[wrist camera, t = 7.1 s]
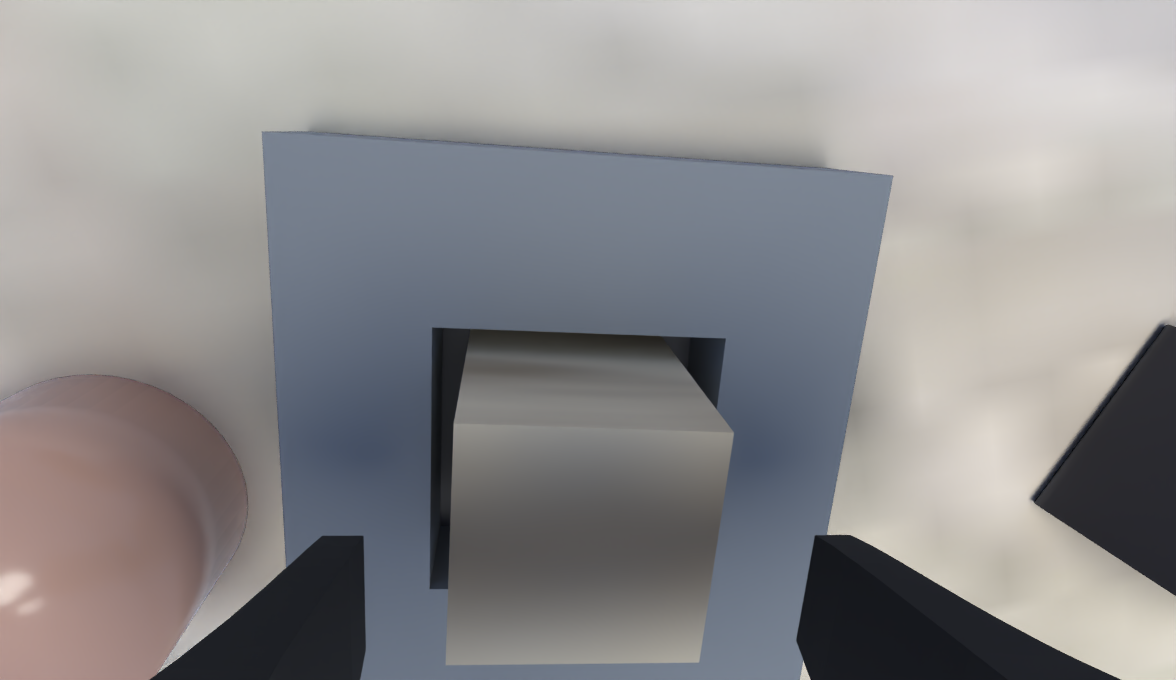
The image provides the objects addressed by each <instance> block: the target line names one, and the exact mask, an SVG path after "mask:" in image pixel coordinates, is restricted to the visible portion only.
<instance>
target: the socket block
mask: <svg viewBox="0 0 1176 680" xmlns="http://www.w3.org/2000/svg"><path fill="white" fill-rule="evenodd" d="M262 141H263V159H264V177H265V195H266V213H267V231H268V249H269V267H270V285H271V303H272V321H273V339H274V357H275V375H276V393H277V411H278V429H279V447H280V465H281V483H282V501H283V518H284V536H285V554H286V568H287V567H288V566H289V565H290V564H291V563H292V562H293V561H294V560H295V559H296V558H297V557H299V556H300V555H301V554H302V553H303V552H304V551H305V550H306V549H307V548H309V547H310V546H311V545H312V544H313V543H314V542H315V541H317V540H318V539H319V538H320V537H321V536H364V579H365V630H366V652H365V657H364V662H363V668H362V673H361V678H360V680H800V675H801V670H802V665H803V658H802V655H801V652H800V650H799V647H798V644H797V642H796V638H797V632H798V627H799V621H800V616H801V610H802V604H803V599H804V593H805V588H806V582H807V576H808V571H809V565H810V560H811V554H812V548H813V543H814V537H815V535H827V530H828V524H829V519H830V514H831V508H832V503H833V497H834V492H835V487H836V481H837V476H838V470H839V465H840V460H841V454H842V449H843V444H844V438H845V433H846V427H847V422H848V417H849V411H850V406H851V400H852V395H853V390H854V384H855V379H856V373H857V368H858V363H859V357H860V352H861V346H862V341H863V336H864V330H865V325H866V320H867V314H868V309H869V303H870V298H871V293H872V287H873V282H874V276H875V271H876V266H877V260H878V255H879V249H880V244H881V239H882V233H883V228H884V222H885V217H886V212H887V206H888V201H889V195H890V190H891V185H892V179H893V176H891V175H882V174H873V173H865V172H856V171H847V170H838V169H830V168H817V167H803V166H788V165H774V164H760V163H746V162H732V161H717V160H703V159H689V158H675V157H661V156H647V155H632V154H618V153H604V152H590V151H576V150H561V149H547V148H533V147H519V146H505V145H491V144H476V143H462V142H448V141H434V140H420V139H405V138H391V137H377V136H363V135H349V134H335V133H320V132H262ZM471 329H487V330H513V331H540V332H567V333H593V334H620V335H646V336H661V337H662V338H663V339H664V341H665V342H666V343H667V345H668V346H669V347H670V349H671V350H672V351H673V353H674V354H675V355H676V357H677V358H678V359H679V361H680V362H681V363H682V364H683V366H684V367H685V368H686V370H687V371H688V372H689V374H690V375H691V376H692V378H693V379H694V380H695V382H696V383H697V384H698V386H699V387H700V388H701V390H702V391H703V392H704V394H705V395H706V396H707V398H708V399H709V400H710V402H711V403H712V404H713V405H714V407H715V408H716V409H717V411H718V412H719V413H720V415H721V416H722V417H723V419H724V420H725V421H726V423H727V424H728V425H729V427H730V428H731V429H732V431H733V432H734V437H733V443H732V450H731V456H730V463H729V470H728V476H727V483H726V489H725V496H724V502H723V509H722V516H721V522H720V529H719V535H718V542H717V548H716V555H715V562H714V568H713V575H712V581H711V588H710V594H709V601H708V608H707V614H706V621H705V627H704V634H703V640H702V647H701V653H700V660H699V663H617V664H523V665H446V638H447V608H448V578H449V549H450V519H451V489H452V459H453V429H454V419H455V413H456V408H457V402H458V397H459V391H460V386H461V380H462V375H463V369H464V363H465V358H466V352H467V347H468V341H469V336H470V330H471Z"/></svg>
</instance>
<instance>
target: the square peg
mask: <svg viewBox="0 0 1176 680" xmlns="http://www.w3.org/2000/svg"><path fill="white" fill-rule="evenodd" d="M733 437H734V432H733V431H732V429H731V428H730V427H729V425H728V424H727V423H726V421H725V420H724V419H723V417H722V416H721V415H720V413H719V412H718V411H717V409H716V408H715V407H714V405H713V404H712V403H711V402H710V400H709V399H708V398H707V396H706V395H705V394H704V392H703V391H702V390H701V388H700V387H699V386H698V384H697V383H696V382H695V380H694V379H693V378H692V376H691V375H690V374H689V372H688V371H687V370H686V368H685V367H684V366H683V364H682V363H681V362H680V361H679V359H678V358H677V357H676V355H675V354H674V353H673V351H672V350H671V349H670V347H669V346H668V345H667V343H666V342H665V341H664V339H663V338H662V337H661V336H646V335H620V334H593V333H567V332H540V331H513V330H487V329H471V330H470V336H469V341H468V347H467V352H466V358H465V363H464V369H463V375H462V380H461V386H460V391H459V397H458V402H457V408H456V413H455V419H454V429H453V459H452V489H451V519H450V549H449V578H448V608H447V638H446V665H523V664H617V663H699V660H700V653H701V647H702V640H703V634H704V627H705V621H706V614H707V608H708V601H709V594H710V588H711V581H712V575H713V568H714V562H715V555H716V548H717V542H718V535H719V529H720V522H721V516H722V509H723V502H724V496H725V489H726V483H727V476H728V470H729V463H730V456H731V450H732V443H733Z"/></svg>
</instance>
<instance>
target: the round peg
mask: <svg viewBox="0 0 1176 680" xmlns="http://www.w3.org/2000/svg"><path fill="white" fill-rule="evenodd" d="M247 514H248V497H247V491H246V484H245V480H244V477H243V474H242V471H241V468H240V466H239V463H238V461H237V459H236V457H235V455H234V453H233V451H232V450H231V448H230V447H229V445H228V444H227V442H226V441H225V439H224V438H223V437H222V436H221V434H220V433H219V432H218V431H217V430H216V428H215V427H214V426H213V425H212V424H211V423H210V422H209V421H208V420H206V419H205V418H204V417H203V416H202V415H201V414H200V413H199V412H197V411H196V410H195V409H193V408H192V407H190V406H189V405H188V404H186V403H185V402H183V401H181V400H180V399H178V398H176V397H174V396H173V395H171V394H169V393H167V392H165V391H162V390H160V389H158V388H156V387H153V386H151V385H148V384H144V383H141V382H138V381H135V380H131V379H126V378H121V377H115V376H106V375H73V376H66V377H60V378H55V379H51V380H48V381H44V382H40V383H37V384H35V385H33V386H31V387H28V388H26V389H24V390H21V391H20V392H18V393H16V394H14V395H12V396H10V397H8V398H6V399H5V400H3V401H1V402H0V680H149V679H151V678H152V677H154V676H155V675H156V674H157V673H158V671H159V670H160V668H161V667H162V665H163V664H164V662H165V660H166V659H167V657H168V656H169V654H170V653H171V651H172V650H173V648H174V646H175V645H176V643H177V642H178V640H179V639H180V637H181V636H182V634H183V633H184V631H185V629H186V628H187V626H188V625H189V623H190V622H191V620H192V619H193V617H194V616H195V614H196V612H197V611H198V609H199V608H200V606H201V605H202V603H203V602H204V600H205V599H206V597H207V595H208V594H209V592H210V591H211V589H212V588H213V586H214V585H215V583H216V582H217V580H218V578H219V577H220V575H221V574H222V572H223V571H224V569H225V568H226V566H227V564H228V563H229V561H230V560H231V558H232V557H233V555H234V554H235V552H236V550H237V548H238V546H239V544H240V542H241V539H242V536H243V533H244V530H245V526H246V520H247Z"/></svg>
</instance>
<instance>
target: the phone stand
mask: <svg viewBox="0 0 1176 680" xmlns="http://www.w3.org/2000/svg"><path fill="white" fill-rule="evenodd" d="M1034 503H1035V504H1036V505H1038V506H1039V507H1041V508H1042V509H1044V510H1045V511H1047V512H1048V513H1050V514H1051V515H1053V516H1054V517H1056V518H1057V519H1059V520H1061V521H1062V522H1064V523H1065V524H1067V525H1068V526H1070V527H1071V528H1073V529H1074V530H1076V531H1077V532H1079V533H1080V534H1082V535H1083V536H1085V537H1086V538H1088V539H1090V540H1091V541H1093V542H1094V543H1096V544H1097V545H1099V546H1100V547H1102V548H1103V549H1105V550H1106V551H1108V552H1109V553H1111V554H1112V555H1114V556H1115V557H1117V558H1119V559H1120V560H1122V561H1123V562H1125V563H1126V564H1128V565H1129V566H1131V567H1132V568H1134V569H1135V570H1137V571H1138V572H1140V573H1141V574H1143V575H1145V576H1146V577H1148V578H1149V579H1151V580H1152V581H1154V582H1155V583H1157V584H1158V585H1160V586H1161V587H1163V588H1164V589H1166V590H1167V591H1169V592H1170V593H1172V594H1174V595H1175V596H1176V327H1174V326H1170V325H1166V326H1165V327H1164V329H1163V330H1162V331H1161V333H1160V334H1159V335H1158V337H1157V338H1156V339H1155V341H1154V342H1153V343H1152V345H1151V346H1150V347H1149V349H1148V350H1147V351H1146V353H1145V354H1144V356H1143V357H1142V358H1141V360H1140V361H1139V362H1138V364H1137V365H1136V366H1135V368H1134V369H1133V370H1132V372H1131V373H1130V374H1129V376H1128V377H1127V378H1126V380H1125V381H1124V382H1123V384H1122V385H1121V387H1120V388H1119V389H1118V391H1117V392H1116V393H1115V395H1114V396H1113V397H1112V399H1111V400H1110V401H1109V403H1108V404H1107V405H1106V407H1105V408H1104V409H1103V411H1102V412H1101V413H1100V415H1099V416H1098V418H1097V419H1096V420H1095V422H1094V423H1093V424H1092V426H1091V427H1090V428H1089V430H1088V431H1087V432H1086V434H1085V435H1084V436H1083V438H1082V439H1081V440H1080V442H1079V443H1078V444H1077V446H1076V447H1075V448H1074V450H1073V451H1072V453H1071V454H1070V455H1069V457H1068V458H1067V459H1066V461H1065V462H1064V463H1063V465H1062V466H1061V467H1060V469H1059V470H1058V471H1057V473H1056V474H1055V475H1054V477H1053V478H1052V479H1051V481H1050V482H1049V484H1048V485H1047V486H1046V488H1045V489H1044V490H1043V492H1042V493H1041V494H1040V496H1039V497H1038V498H1037V500H1036V501H1035V502H1034Z"/></svg>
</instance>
